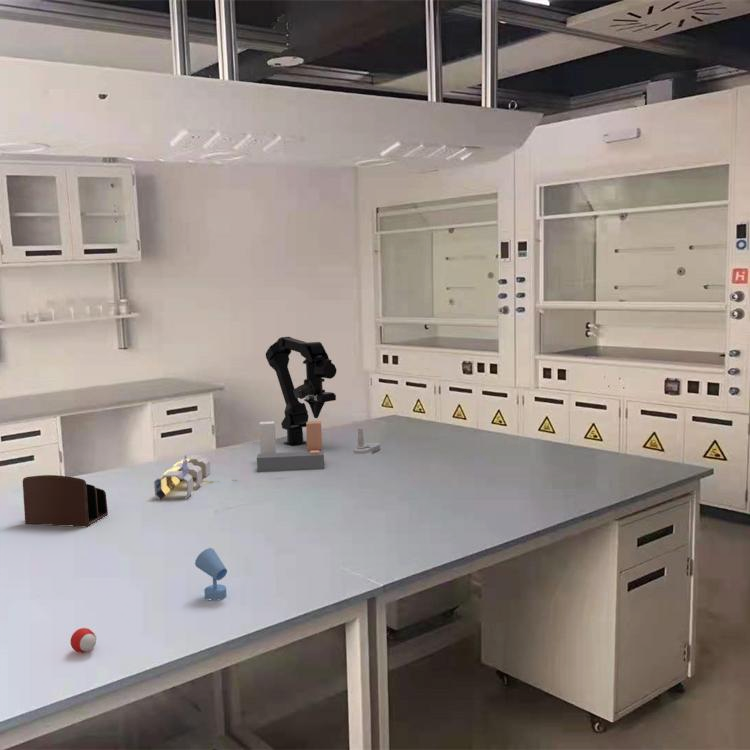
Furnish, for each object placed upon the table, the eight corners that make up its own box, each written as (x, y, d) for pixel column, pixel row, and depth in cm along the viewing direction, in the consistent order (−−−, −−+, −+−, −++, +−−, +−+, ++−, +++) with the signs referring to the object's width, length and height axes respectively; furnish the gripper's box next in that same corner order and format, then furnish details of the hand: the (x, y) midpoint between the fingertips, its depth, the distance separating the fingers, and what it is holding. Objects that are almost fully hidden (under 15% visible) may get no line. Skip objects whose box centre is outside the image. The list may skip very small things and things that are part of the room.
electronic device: (381, 424, 295) (363, 430, 281) (382, 450, 296) (364, 458, 282) (368, 423, 297) (350, 430, 284) (369, 449, 298) (351, 457, 285)
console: (261, 463, 278) (260, 445, 277) (324, 460, 280) (323, 442, 279) (257, 475, 263) (256, 456, 262) (324, 472, 264) (323, 453, 263)
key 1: (262, 461, 276) (260, 421, 274) (276, 460, 277) (274, 421, 275) (261, 464, 272) (259, 424, 270) (275, 463, 273) (273, 423, 271)
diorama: (189, 500, 238) (186, 457, 236) (155, 501, 239) (152, 458, 237) (210, 478, 263) (208, 439, 261) (180, 478, 264) (177, 439, 262)
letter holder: (88, 527, 215) (83, 477, 213) (24, 524, 220) (19, 475, 218) (108, 516, 225) (104, 467, 223) (47, 513, 229) (42, 465, 227)
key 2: (308, 461, 274) (306, 421, 272) (322, 460, 274) (321, 421, 273) (307, 464, 270) (306, 424, 268) (322, 463, 271) (321, 423, 269)
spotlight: (194, 595, 168) (215, 603, 163) (191, 550, 166) (212, 557, 162) (213, 587, 172) (234, 595, 167) (210, 543, 170) (231, 550, 166)
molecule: (66, 652, 145) (64, 630, 144) (90, 642, 148) (88, 620, 148) (82, 660, 141) (80, 637, 141) (106, 649, 145) (104, 627, 145)
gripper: (282, 376, 296) (284, 418, 298) (310, 381, 281) (312, 424, 283) (306, 373, 303) (308, 413, 305) (336, 377, 288) (337, 419, 290)
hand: (316, 417), depth 295 cm, fingers closed
